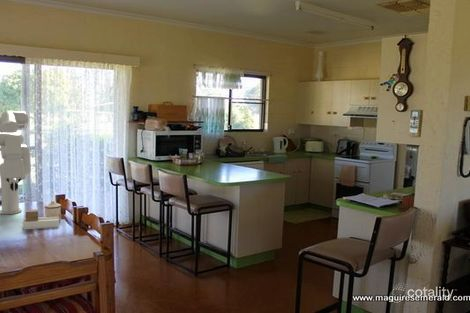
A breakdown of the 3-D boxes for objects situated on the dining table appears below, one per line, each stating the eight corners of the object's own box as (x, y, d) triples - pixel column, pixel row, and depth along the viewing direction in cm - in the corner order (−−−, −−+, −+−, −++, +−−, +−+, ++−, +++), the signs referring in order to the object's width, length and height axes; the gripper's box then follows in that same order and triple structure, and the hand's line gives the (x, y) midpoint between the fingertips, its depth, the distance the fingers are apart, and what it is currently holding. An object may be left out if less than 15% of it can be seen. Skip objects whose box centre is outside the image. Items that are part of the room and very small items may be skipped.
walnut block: (26, 223, 236) (26, 209, 235) (38, 223, 238) (38, 209, 237) (26, 226, 231) (25, 211, 230) (38, 225, 234) (37, 211, 233)
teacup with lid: (63, 221, 249) (62, 201, 247) (46, 223, 243) (46, 203, 242) (58, 216, 258) (58, 197, 257) (42, 218, 253) (41, 199, 252)
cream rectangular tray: (23, 225, 237) (23, 218, 236) (58, 223, 244) (58, 216, 244) (22, 229, 229) (22, 222, 229) (58, 226, 237) (58, 219, 236)
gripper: (-4, 157, 221) (-3, 192, 223) (28, 157, 227) (29, 191, 229) (-3, 156, 227) (-2, 189, 229) (29, 155, 234) (30, 188, 236)
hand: (14, 190), depth 229 cm, fingers closed
